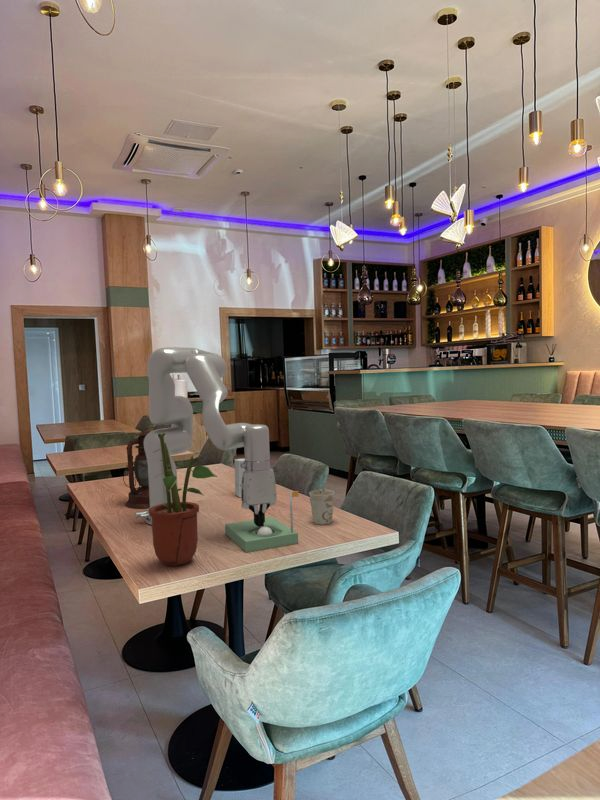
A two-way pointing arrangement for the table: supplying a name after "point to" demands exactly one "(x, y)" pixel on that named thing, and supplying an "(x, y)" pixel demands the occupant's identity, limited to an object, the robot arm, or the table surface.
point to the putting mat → (252, 541)
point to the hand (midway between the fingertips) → (259, 525)
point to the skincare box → (238, 476)
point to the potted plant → (176, 515)
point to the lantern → (138, 474)
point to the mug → (322, 506)
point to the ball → (264, 531)
